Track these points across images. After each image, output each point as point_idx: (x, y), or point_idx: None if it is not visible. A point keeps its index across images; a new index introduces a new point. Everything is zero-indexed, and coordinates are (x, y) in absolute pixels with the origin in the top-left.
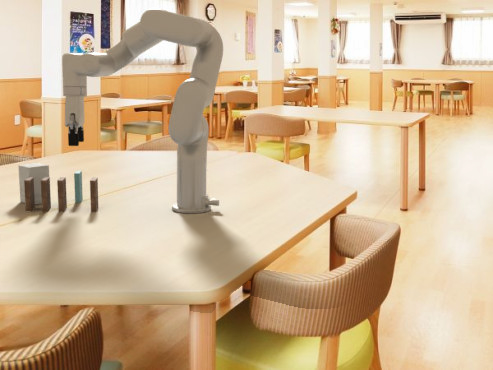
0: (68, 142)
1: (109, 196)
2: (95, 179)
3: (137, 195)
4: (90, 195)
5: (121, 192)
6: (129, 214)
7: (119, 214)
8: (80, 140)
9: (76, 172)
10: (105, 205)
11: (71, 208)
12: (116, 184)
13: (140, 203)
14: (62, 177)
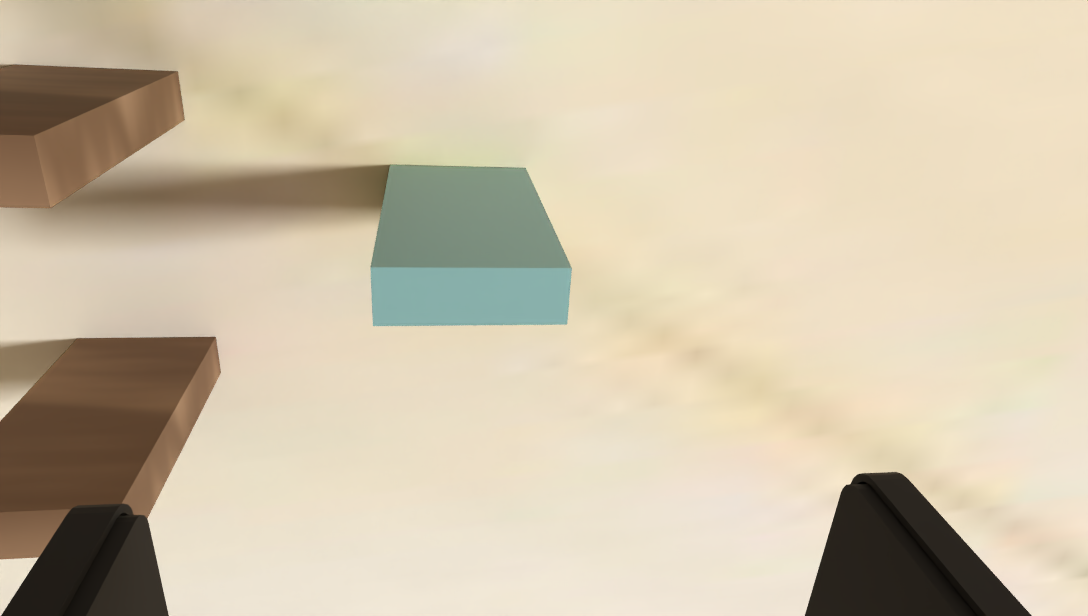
0: (34, 565)
1: (620, 393)
2: (2, 553)
3: (633, 557)
4: (8, 414)
5: (747, 452)
6: None
7: None
8: (824, 608)
9: (444, 283)
10: (307, 409)
11: (164, 165)
12: (1037, 384)
13: (386, 602)
14: (31, 164)
